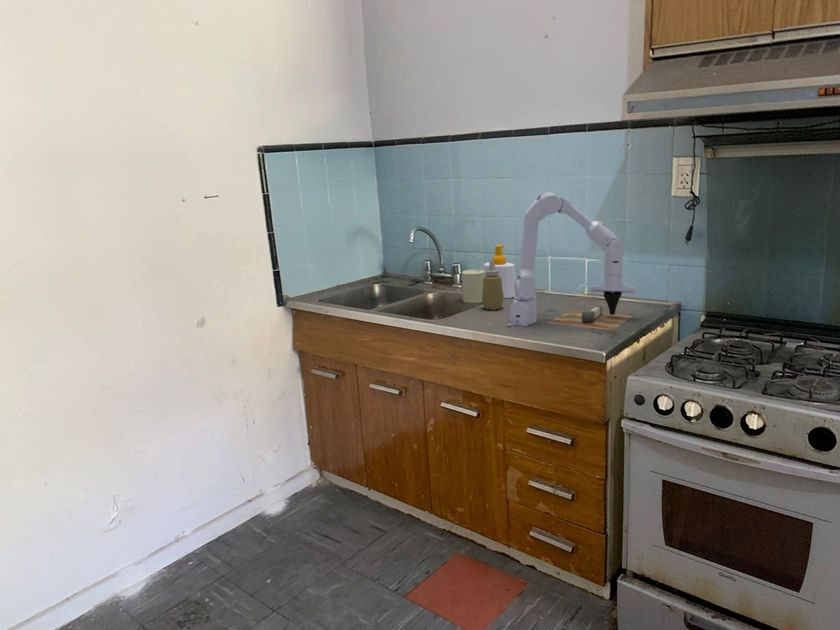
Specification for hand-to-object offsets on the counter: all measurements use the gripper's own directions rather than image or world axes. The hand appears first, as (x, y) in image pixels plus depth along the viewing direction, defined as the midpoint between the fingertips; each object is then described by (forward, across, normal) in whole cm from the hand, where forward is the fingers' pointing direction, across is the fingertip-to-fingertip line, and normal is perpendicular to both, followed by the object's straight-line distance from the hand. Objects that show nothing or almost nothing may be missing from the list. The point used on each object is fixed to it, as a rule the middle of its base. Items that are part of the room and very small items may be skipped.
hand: (612, 314), depth 207 cm
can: (+2, +56, -19) cm, 59 cm away
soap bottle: (+2, +48, -28) cm, 56 cm away
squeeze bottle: (+2, +44, -7) cm, 45 cm away
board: (+2, +6, +4) cm, 8 cm away
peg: (+1, +6, +3) cm, 6 cm away
